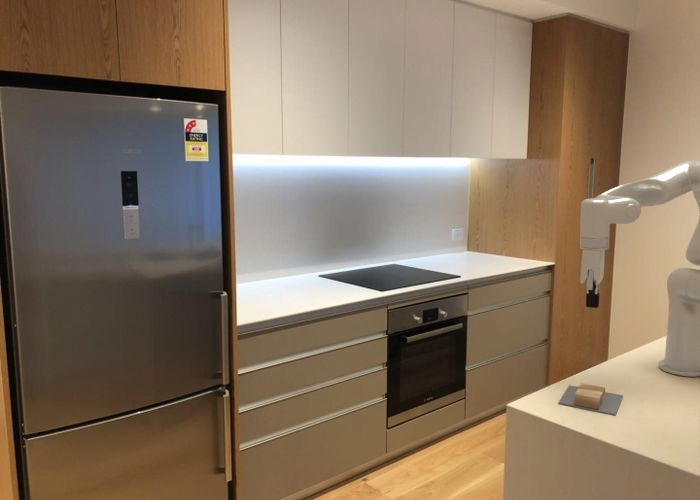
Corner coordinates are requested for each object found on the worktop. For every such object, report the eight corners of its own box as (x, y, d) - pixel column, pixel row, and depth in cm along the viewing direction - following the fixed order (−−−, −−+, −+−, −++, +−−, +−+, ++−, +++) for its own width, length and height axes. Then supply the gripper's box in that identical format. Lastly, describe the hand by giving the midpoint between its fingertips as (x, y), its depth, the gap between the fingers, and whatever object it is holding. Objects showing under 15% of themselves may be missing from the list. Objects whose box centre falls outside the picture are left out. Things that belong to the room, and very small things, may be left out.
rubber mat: (569, 386, 167) (569, 385, 167) (623, 396, 160) (623, 395, 160) (558, 403, 155) (558, 402, 155) (615, 415, 148) (615, 414, 148)
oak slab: (581, 382, 161) (575, 393, 153) (605, 387, 158) (599, 398, 150) (581, 393, 161) (574, 404, 154) (604, 398, 158) (598, 409, 150)
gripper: (584, 238, 171) (583, 299, 174) (575, 246, 159) (573, 312, 162) (612, 239, 167) (610, 302, 170) (604, 247, 155) (602, 315, 158)
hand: (592, 306), depth 166 cm, fingers closed
